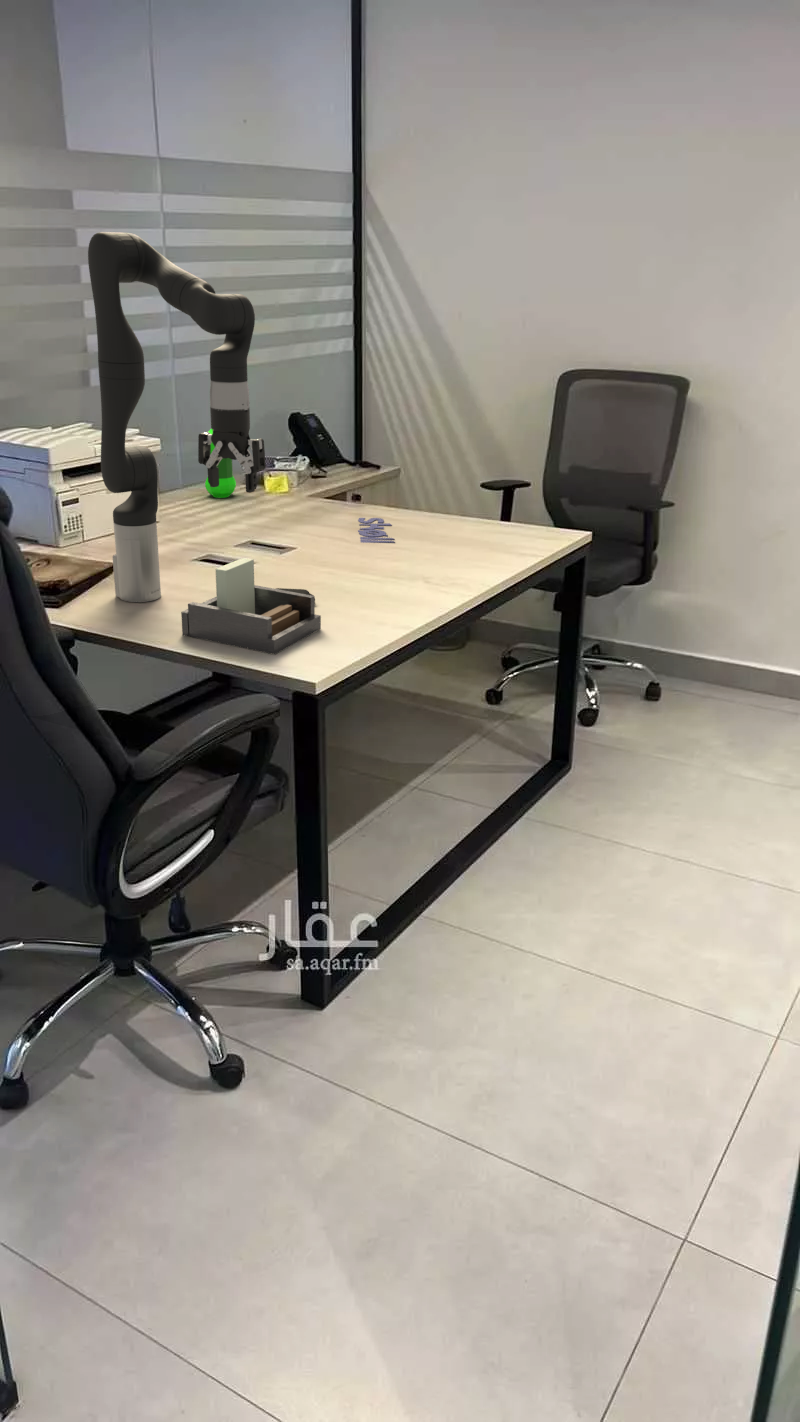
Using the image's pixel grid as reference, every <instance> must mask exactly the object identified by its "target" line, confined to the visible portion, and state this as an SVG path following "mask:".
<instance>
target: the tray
mask: <svg viewBox="0 0 800 1422" xmlns="http://www.w3.org/2000/svg"><path fill="white" fill-rule="evenodd" d="M254 591H255V614H251V613H246V612H241V611H236V610H231V609H226V608H221V607H217V595H216V596H214V597H211V598H210V599H208V600H206V601H203V602H201V603H200V602H195V601H192V602H188V603H187V609H184V610H182V611H181V613H180V614H181V632H182V633H181V634H182V636H184V635H185V637H190V638H193V639H194V638H195V639H198V640H199V639H200V640H203V641H209V642H212V643H213V642H214V643H217V644H218V643H219V644H222V645H227V646H230V647H231V646H232V647H236V648H242V649H246V650H250V651H251V650H252V651H256V652H261V653H264V654H270V655H273V656H274V655H276V654H278V653H280V652H282V651H285V649H287V648H289V647H291V646H293V645H295V644H296V643H298V642H300V641H302V640H304V639H305V638H307V637H309V636H311V635H313V634H315V633H317V632H318V631H320V630H322V627H321V625H322V624H321V623H322V619H321V618H322V615H320V614H315V612H316V611H315V610H316V609H315V607H316V606H315V603H316V598H315V595H314V596H312V595H313V594H312V595H306V594H301V593H295V592H290V591H284V590H279V589H276V588H274V587H273V588H272V587H267V586H261V585H256V584H254ZM281 605H292V611H293V610H297V611H299V623H297V624H295V625H293V626H291V627H290V628H288V629H286V630H284V631H282V632H280V633H278V634H276V635H274V636H272V617H267V616H262V614H264V613H266V612H268V611H270V610H272V609H274V608H276V607H278V606H281Z"/></svg>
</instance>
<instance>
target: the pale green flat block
mask: <svg viewBox="0 0 800 1422" xmlns="http://www.w3.org/2000/svg"><path fill="white" fill-rule="evenodd" d="M254 585H255V560H254V559H253V558H246V557H242V558H239V559H237V560H235V561H231V562H230V563H227V564H225V565H221V566H219V567H217V568H215V586H216V587H215V588H216V589H215V590H216V591H215V592H216V596H217V607H221V608H226V609H231V610H236V611H241V612H246V613H251V614H255V591H254Z"/></svg>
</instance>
